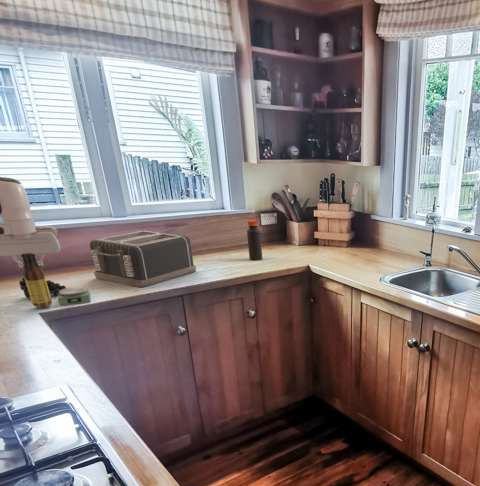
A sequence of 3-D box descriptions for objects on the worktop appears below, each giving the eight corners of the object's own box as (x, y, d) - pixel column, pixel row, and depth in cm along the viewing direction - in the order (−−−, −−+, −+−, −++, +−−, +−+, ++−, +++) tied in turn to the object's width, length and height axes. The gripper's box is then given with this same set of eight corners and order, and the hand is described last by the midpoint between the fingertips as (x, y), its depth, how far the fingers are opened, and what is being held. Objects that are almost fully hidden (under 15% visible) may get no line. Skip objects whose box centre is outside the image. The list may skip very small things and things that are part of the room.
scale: (60, 306, 176) (57, 298, 174) (61, 298, 184) (59, 290, 183) (90, 302, 180) (88, 295, 179) (90, 295, 188) (89, 287, 187)
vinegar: (264, 258, 252) (261, 220, 243) (259, 261, 246) (255, 222, 237) (253, 257, 253) (249, 219, 245) (247, 260, 247) (243, 221, 239)
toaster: (85, 280, 206) (75, 241, 199) (151, 263, 235) (145, 228, 228) (133, 290, 195) (124, 249, 187) (196, 271, 224) (191, 235, 216)
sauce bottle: (41, 301, 177) (27, 249, 168) (56, 303, 176) (43, 250, 168) (27, 307, 171) (12, 253, 163) (43, 308, 170) (28, 254, 162)
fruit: (62, 270, 187) (16, 273, 180) (63, 281, 182) (16, 285, 175) (66, 288, 192) (22, 292, 185) (68, 300, 187) (22, 304, 180)
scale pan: (58, 296, 175) (58, 294, 175) (60, 290, 183) (59, 288, 182) (87, 293, 179) (86, 291, 179) (87, 287, 187) (87, 285, 186)
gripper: (56, 224, 168) (65, 262, 174) (-14, 227, 160) (-2, 266, 165) (55, 227, 163) (64, 266, 169) (-18, 230, 155) (-5, 271, 160)
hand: (31, 266), depth 167 cm, fingers closed on sauce bottle, 4 cm apart
